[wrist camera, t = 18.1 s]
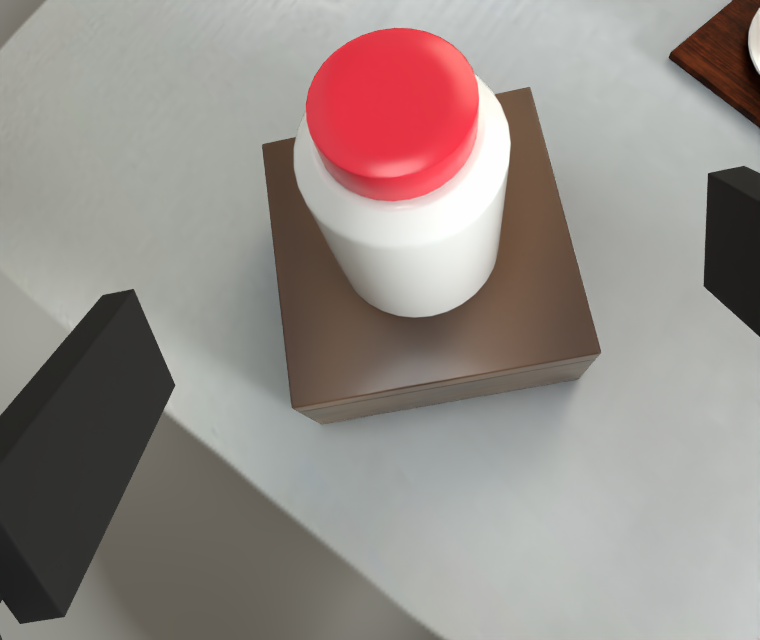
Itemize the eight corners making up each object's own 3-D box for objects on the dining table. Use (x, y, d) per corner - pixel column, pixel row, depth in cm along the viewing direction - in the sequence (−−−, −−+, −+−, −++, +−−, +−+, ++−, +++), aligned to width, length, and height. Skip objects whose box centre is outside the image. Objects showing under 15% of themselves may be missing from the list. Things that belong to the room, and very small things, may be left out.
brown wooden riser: (320, 424, 34) (291, 408, 29) (291, 197, 39) (261, 143, 33) (578, 379, 33) (602, 353, 28) (520, 149, 37) (530, 86, 32)
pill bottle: (328, 185, 32) (259, 27, 21) (481, 153, 31) (489, -25, 21) (349, 331, 29) (283, 235, 19) (515, 301, 29) (542, 184, 18)
